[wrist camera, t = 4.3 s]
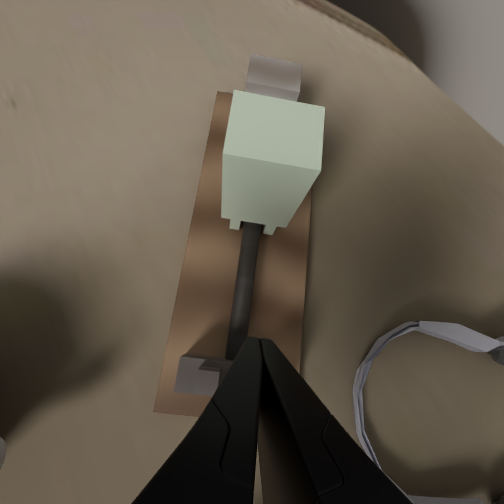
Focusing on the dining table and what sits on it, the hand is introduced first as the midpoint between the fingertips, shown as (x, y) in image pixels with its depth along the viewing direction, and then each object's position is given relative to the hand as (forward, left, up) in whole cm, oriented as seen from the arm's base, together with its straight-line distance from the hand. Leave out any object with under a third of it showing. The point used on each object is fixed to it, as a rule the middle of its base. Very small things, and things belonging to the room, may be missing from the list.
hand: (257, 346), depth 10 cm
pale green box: (+7, +8, -12) cm, 16 cm away
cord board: (+6, +6, -13) cm, 16 cm away
